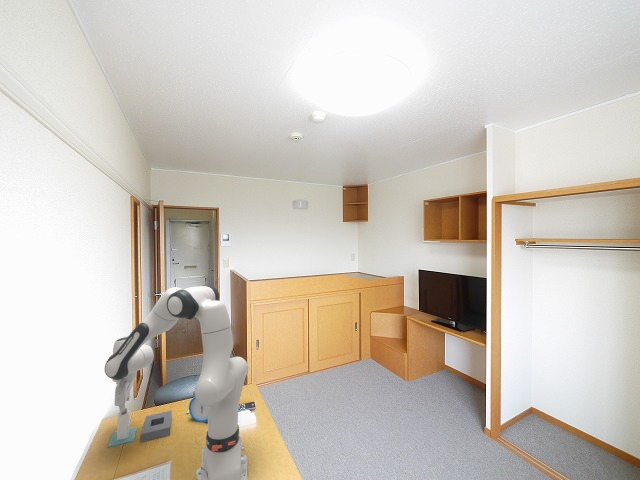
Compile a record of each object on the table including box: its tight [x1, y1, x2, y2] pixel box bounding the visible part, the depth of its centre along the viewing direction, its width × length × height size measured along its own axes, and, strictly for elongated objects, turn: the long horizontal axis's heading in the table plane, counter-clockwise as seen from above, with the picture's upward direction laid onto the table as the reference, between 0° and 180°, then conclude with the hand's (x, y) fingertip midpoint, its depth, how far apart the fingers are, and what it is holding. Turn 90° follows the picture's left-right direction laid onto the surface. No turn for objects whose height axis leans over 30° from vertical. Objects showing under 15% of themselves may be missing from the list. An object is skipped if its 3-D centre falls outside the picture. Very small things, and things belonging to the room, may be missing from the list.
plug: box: [116, 407, 131, 440], centre depth 123 cm, size 4×4×12 cm
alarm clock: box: [188, 391, 210, 423], centre depth 137 cm, size 13×6×15 cm, turn 83°
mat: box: [107, 426, 138, 449], centre depth 123 cm, size 10×9×1 cm
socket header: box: [140, 410, 173, 443], centre depth 128 cm, size 14×11×4 cm
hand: (124, 405), depth 123 cm, fingers open, 8 cm apart
